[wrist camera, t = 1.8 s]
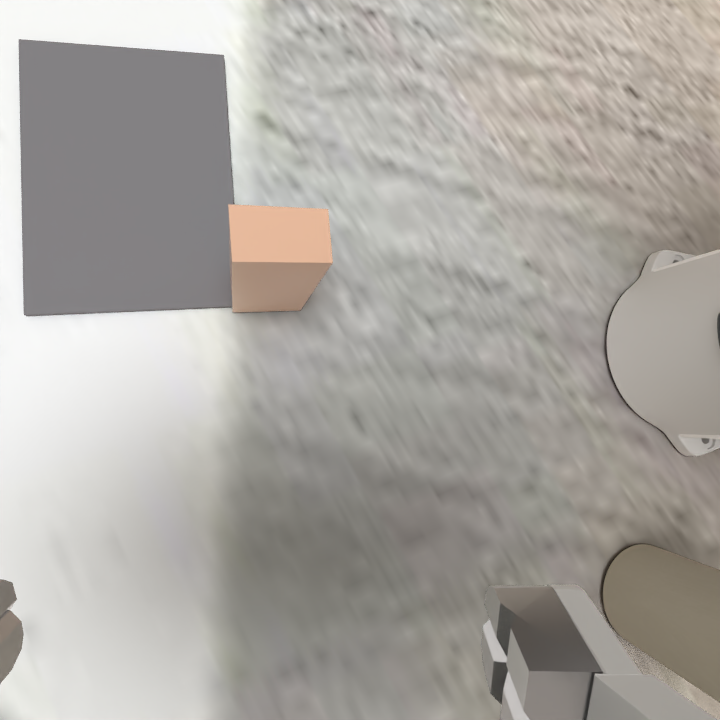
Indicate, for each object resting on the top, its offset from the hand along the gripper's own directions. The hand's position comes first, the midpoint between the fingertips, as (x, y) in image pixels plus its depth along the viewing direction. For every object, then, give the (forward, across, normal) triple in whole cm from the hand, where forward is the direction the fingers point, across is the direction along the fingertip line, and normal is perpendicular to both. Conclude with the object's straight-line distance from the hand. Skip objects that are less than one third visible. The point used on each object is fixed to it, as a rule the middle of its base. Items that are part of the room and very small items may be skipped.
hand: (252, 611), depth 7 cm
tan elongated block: (+26, +5, -4) cm, 27 cm away
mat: (+27, +15, -12) cm, 33 cm away
